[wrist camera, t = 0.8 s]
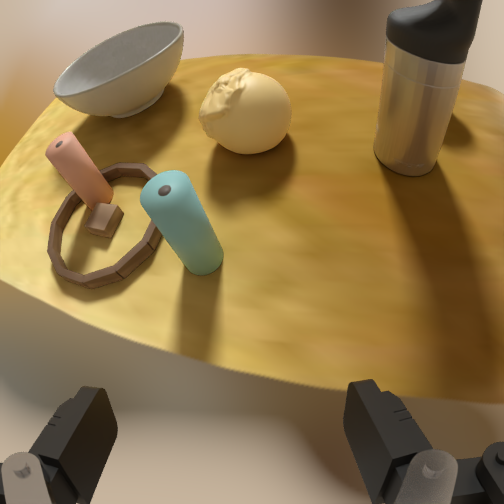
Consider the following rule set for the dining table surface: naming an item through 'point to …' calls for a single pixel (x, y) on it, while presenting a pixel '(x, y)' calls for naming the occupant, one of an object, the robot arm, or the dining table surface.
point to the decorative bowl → (123, 71)
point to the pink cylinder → (79, 170)
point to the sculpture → (246, 112)
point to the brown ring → (103, 232)
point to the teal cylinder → (182, 221)
